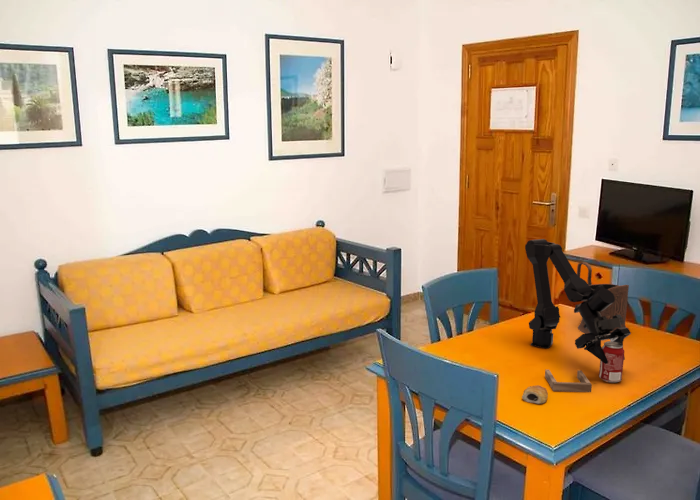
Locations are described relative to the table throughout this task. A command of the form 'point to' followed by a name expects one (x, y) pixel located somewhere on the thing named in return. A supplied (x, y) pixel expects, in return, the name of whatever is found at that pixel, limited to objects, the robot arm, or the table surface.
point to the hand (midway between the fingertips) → (615, 361)
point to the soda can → (612, 362)
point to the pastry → (535, 394)
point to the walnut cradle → (569, 383)
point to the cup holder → (616, 307)
